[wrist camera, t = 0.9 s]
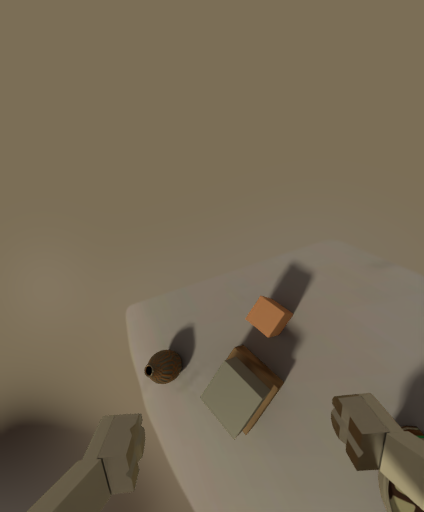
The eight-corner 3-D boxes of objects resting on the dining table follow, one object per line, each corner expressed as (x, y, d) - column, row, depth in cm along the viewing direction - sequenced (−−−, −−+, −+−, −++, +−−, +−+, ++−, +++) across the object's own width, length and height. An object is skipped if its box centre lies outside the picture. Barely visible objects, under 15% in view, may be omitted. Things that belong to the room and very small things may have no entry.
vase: (169, 343, 56) (143, 347, 49) (190, 355, 53) (165, 362, 45) (160, 370, 56) (132, 378, 48) (180, 385, 52) (154, 396, 45)
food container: (364, 406, 36) (371, 434, 27) (414, 414, 33) (439, 447, 24) (379, 504, 32) (393, 570, 24) (436, 522, 30) (475, 604, 21)
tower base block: (284, 382, 42) (278, 389, 38) (255, 423, 43) (246, 435, 39) (243, 344, 48) (234, 347, 43) (218, 382, 48) (206, 388, 44)
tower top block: (271, 390, 39) (262, 398, 34) (245, 426, 39) (234, 439, 35) (236, 356, 43) (224, 360, 39) (213, 390, 43) (199, 397, 39)
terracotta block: (293, 314, 44) (285, 313, 37) (279, 334, 44) (268, 337, 38) (272, 299, 47) (260, 295, 40) (258, 318, 47) (245, 318, 40)
